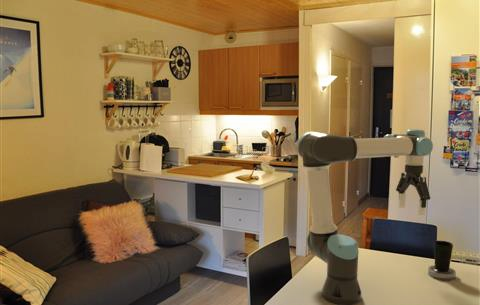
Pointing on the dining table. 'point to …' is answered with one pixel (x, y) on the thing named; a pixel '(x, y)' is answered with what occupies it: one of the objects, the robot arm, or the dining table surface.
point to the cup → (442, 255)
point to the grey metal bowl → (441, 274)
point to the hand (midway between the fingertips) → (411, 210)
